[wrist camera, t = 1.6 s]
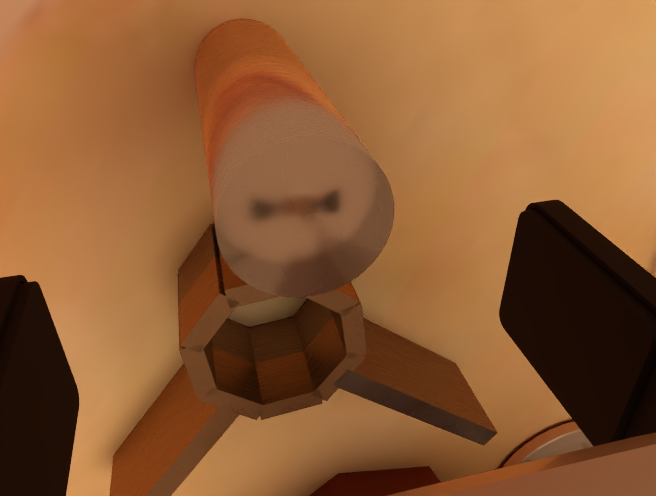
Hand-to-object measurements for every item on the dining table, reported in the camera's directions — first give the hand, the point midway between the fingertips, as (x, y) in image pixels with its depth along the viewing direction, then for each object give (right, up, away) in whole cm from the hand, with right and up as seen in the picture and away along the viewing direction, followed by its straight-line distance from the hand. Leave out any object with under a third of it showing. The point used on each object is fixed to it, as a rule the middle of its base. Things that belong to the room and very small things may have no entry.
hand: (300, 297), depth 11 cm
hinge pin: (-3, +9, +14) cm, 17 cm away
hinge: (-2, -8, +25) cm, 26 cm away
